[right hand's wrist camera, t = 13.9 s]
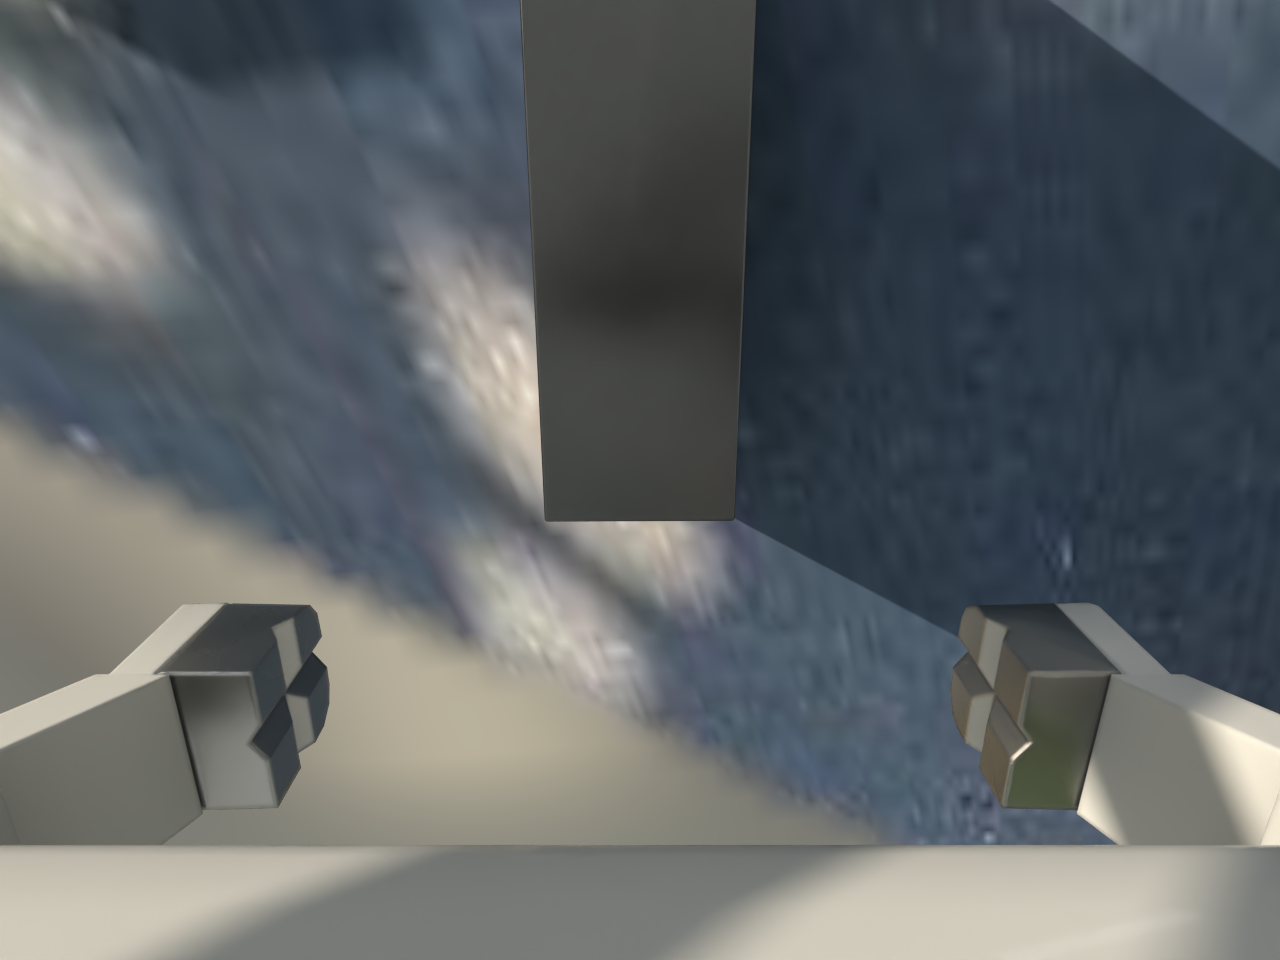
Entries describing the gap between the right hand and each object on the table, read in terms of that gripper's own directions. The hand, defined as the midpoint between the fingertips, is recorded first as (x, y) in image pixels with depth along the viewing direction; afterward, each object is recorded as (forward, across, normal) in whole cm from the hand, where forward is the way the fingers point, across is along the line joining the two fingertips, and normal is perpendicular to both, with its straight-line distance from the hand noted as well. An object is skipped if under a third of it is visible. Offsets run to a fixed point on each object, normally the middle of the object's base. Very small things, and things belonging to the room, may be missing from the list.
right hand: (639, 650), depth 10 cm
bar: (+24, 0, +7) cm, 25 cm away
